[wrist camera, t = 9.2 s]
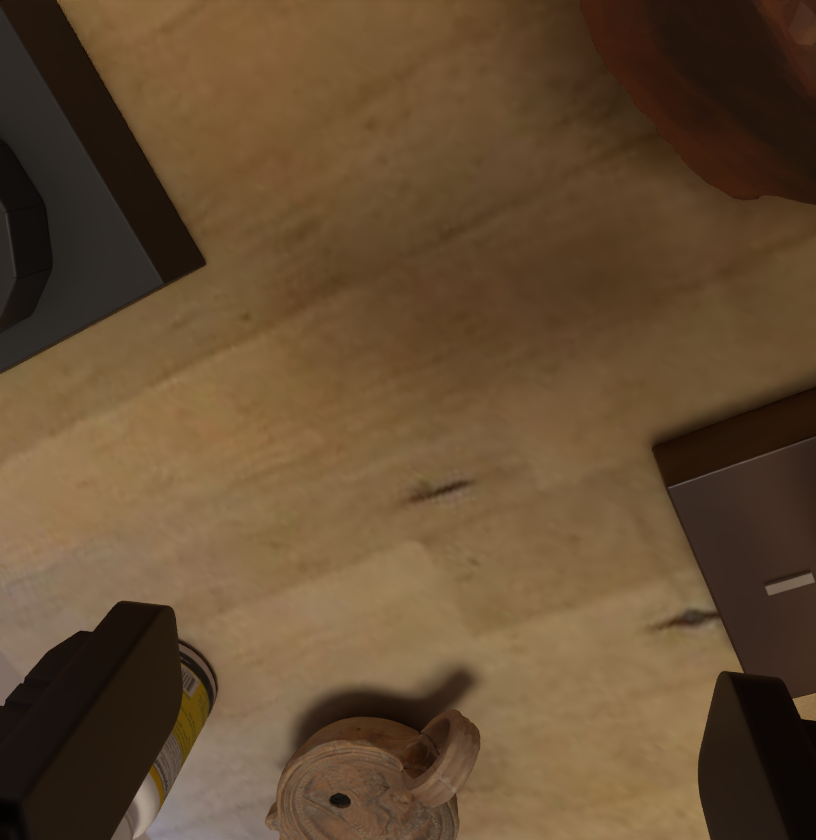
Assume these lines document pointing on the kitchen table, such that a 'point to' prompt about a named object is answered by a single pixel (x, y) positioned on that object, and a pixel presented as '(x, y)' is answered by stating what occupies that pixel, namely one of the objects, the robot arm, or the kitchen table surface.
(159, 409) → the kitchen table surface
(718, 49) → the case
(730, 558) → the dial panel
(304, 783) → the oil lamp
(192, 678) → the supplement bottle
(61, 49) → the push button box
